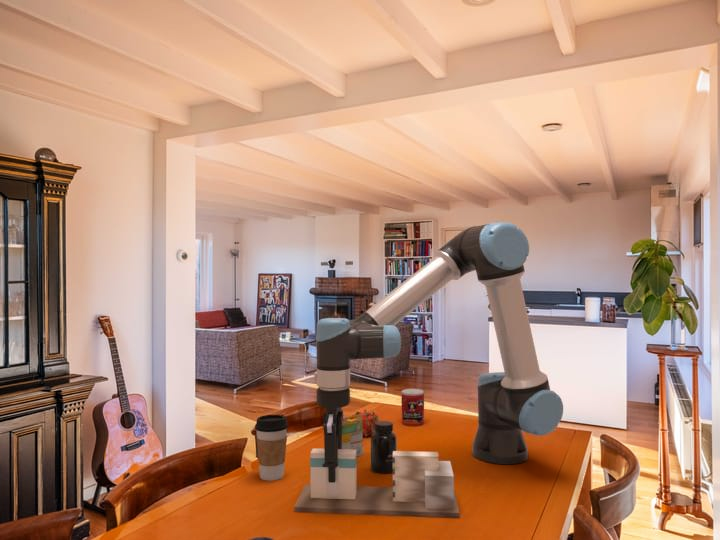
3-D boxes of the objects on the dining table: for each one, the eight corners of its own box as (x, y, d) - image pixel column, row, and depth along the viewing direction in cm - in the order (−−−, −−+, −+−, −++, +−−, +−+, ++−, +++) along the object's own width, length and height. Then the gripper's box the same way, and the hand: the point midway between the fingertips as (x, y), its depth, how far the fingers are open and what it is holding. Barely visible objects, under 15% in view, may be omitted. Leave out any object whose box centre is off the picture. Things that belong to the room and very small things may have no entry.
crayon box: (357, 452, 148) (357, 411, 148) (363, 455, 145) (363, 414, 146) (335, 457, 144) (335, 415, 144) (341, 460, 141) (341, 417, 142)
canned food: (400, 426, 174) (400, 393, 174) (402, 419, 181) (402, 388, 182) (423, 427, 172) (423, 394, 172) (424, 420, 180) (424, 388, 180)
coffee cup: (260, 485, 125) (260, 423, 125) (250, 473, 132) (250, 414, 132) (293, 478, 129) (293, 418, 129) (282, 467, 136) (282, 410, 136)
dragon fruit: (382, 437, 166) (350, 449, 160) (368, 417, 172) (337, 428, 166) (387, 420, 161) (355, 432, 155) (374, 400, 167) (341, 411, 161)
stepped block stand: (454, 493, 119) (453, 445, 119) (459, 517, 107) (459, 464, 107) (305, 488, 122) (305, 442, 123) (294, 511, 111) (293, 460, 111)
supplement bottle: (395, 475, 131) (394, 427, 131) (368, 473, 132) (368, 426, 132) (398, 465, 137) (398, 420, 138) (373, 463, 139) (372, 418, 139)
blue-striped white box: (356, 493, 117) (356, 449, 117) (355, 499, 114) (355, 454, 114) (312, 492, 118) (312, 448, 118) (310, 498, 115) (310, 452, 115)
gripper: (322, 379, 125) (323, 477, 124) (310, 395, 108) (310, 507, 108) (353, 380, 124) (354, 478, 124) (345, 395, 108) (346, 508, 107)
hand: (333, 491), depth 116 cm, fingers closed on blue-striped white box, 3 cm apart
